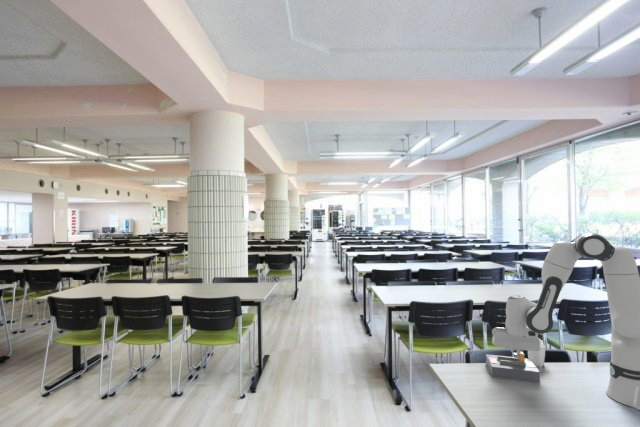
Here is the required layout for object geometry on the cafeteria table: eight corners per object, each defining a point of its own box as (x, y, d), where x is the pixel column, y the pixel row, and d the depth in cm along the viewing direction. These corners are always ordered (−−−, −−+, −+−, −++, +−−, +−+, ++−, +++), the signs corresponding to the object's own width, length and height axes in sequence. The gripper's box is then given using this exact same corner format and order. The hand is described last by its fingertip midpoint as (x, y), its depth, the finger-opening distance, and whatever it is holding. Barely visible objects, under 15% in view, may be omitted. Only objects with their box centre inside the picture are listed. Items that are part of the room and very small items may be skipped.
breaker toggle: (522, 361, 162) (522, 351, 162) (524, 364, 160) (524, 354, 159) (517, 361, 163) (517, 351, 163) (519, 364, 160) (519, 353, 160)
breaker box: (529, 368, 166) (529, 355, 166) (539, 382, 153) (539, 368, 153) (485, 363, 172) (485, 351, 172) (492, 377, 158) (492, 363, 158)
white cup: (530, 358, 177) (530, 340, 177) (547, 364, 171) (547, 344, 171) (524, 363, 172) (524, 344, 172) (542, 368, 166) (542, 349, 166)
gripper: (493, 328, 161) (493, 357, 162) (541, 333, 156) (541, 362, 156) (490, 324, 167) (490, 351, 168) (537, 328, 162) (536, 357, 162)
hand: (515, 357), depth 162 cm, fingers closed
